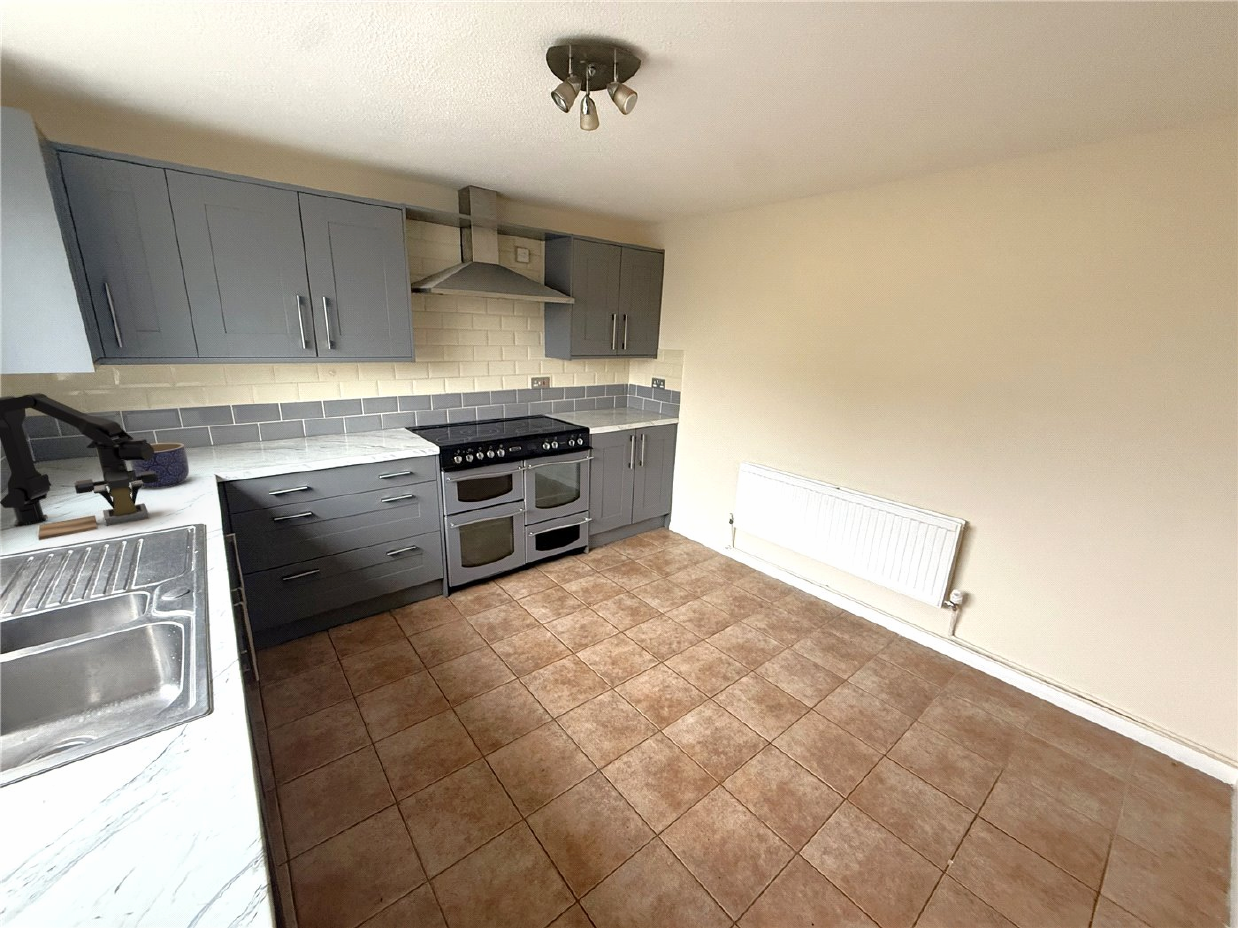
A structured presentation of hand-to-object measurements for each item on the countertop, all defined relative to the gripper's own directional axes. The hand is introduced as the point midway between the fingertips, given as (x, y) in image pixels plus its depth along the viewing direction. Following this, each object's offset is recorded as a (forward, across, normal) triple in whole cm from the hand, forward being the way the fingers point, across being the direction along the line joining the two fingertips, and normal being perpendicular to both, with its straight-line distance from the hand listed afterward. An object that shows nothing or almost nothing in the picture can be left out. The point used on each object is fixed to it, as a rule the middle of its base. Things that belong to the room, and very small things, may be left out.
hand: (124, 506), depth 161 cm
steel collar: (+4, 0, 0) cm, 4 cm away
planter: (+4, +13, +36) cm, 39 cm away
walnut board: (+4, -13, 0) cm, 14 cm away
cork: (+4, 0, 0) cm, 4 cm away
